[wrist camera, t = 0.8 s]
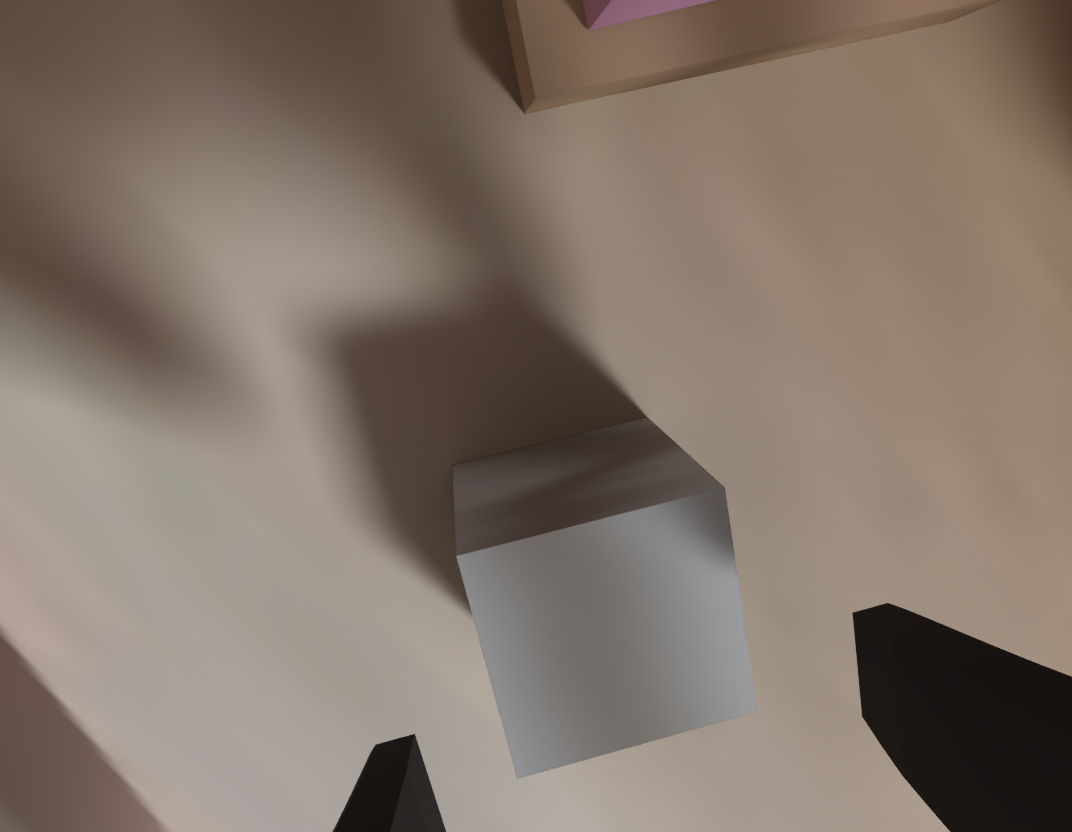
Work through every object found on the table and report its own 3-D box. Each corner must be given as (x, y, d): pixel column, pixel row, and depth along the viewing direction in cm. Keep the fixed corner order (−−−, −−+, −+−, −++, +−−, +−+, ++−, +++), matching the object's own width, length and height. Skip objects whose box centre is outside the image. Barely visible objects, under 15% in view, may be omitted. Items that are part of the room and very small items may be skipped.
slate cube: (646, 416, 17) (725, 487, 12) (676, 588, 19) (757, 711, 14) (452, 464, 17) (456, 556, 12) (497, 635, 18) (517, 779, 14)
